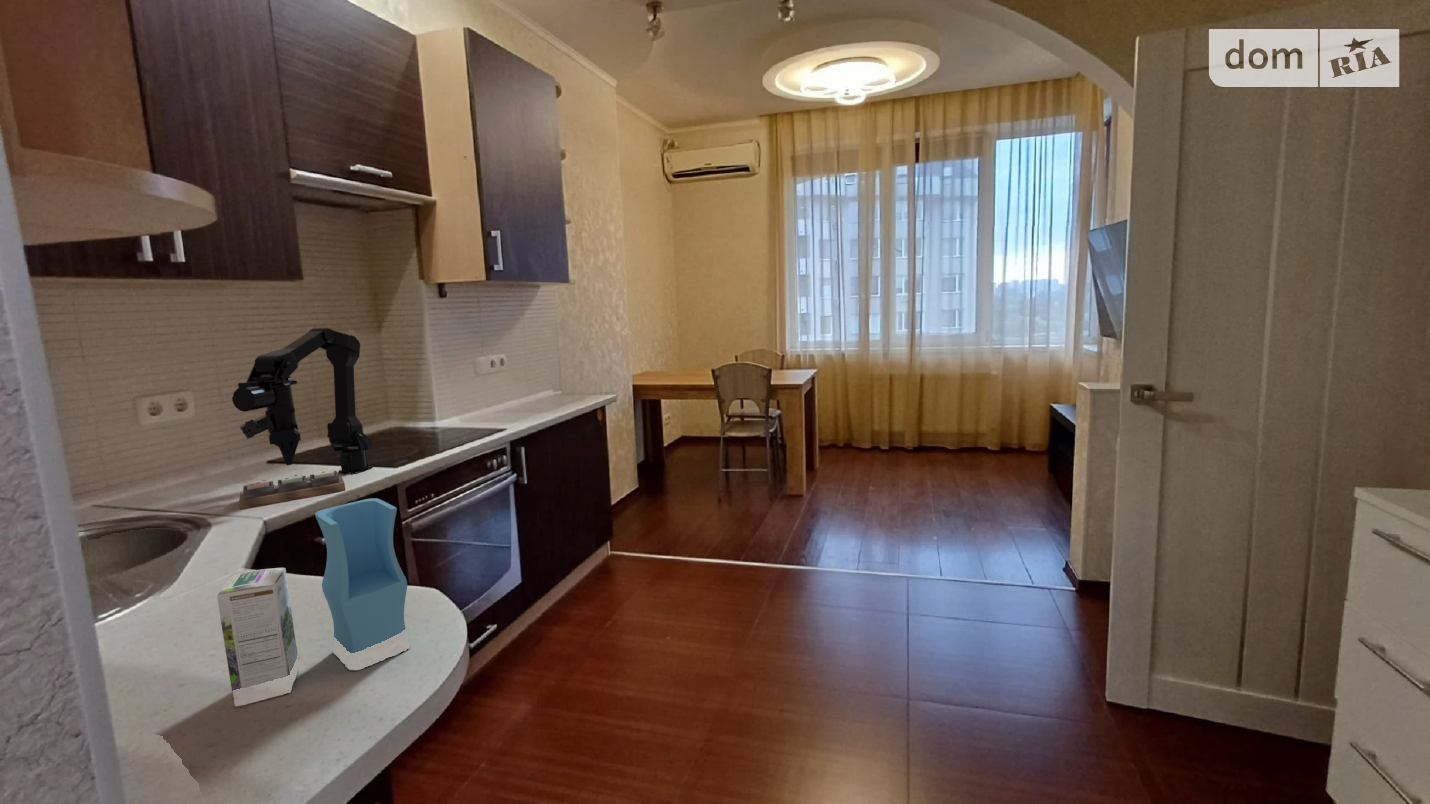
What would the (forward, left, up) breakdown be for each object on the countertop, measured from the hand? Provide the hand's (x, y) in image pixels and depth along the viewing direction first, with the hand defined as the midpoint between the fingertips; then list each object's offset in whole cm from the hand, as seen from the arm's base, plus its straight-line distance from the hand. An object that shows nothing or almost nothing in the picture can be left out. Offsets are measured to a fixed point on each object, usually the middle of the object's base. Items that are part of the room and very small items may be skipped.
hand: (289, 464), depth 157 cm
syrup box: (+65, +74, -8) cm, 99 cm away
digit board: (0, 0, -8) cm, 8 cm away
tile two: (0, 0, -5) cm, 5 cm away
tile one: (-6, +4, -5) cm, 9 cm away
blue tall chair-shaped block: (+55, +80, -8) cm, 97 cm away
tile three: (+5, -4, -5) cm, 9 cm away
